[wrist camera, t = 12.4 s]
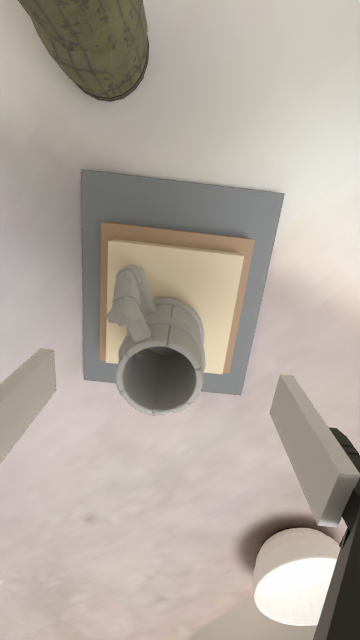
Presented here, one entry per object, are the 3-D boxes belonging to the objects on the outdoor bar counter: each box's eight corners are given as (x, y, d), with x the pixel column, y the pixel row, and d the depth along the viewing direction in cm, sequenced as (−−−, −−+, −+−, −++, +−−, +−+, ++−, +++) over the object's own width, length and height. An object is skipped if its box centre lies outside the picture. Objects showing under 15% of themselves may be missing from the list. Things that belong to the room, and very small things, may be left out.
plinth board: (85, 171, 31) (57, 157, 24) (280, 194, 31) (308, 187, 24) (87, 374, 40) (66, 407, 32) (238, 389, 40) (251, 425, 33)
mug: (148, 371, 31) (128, 458, 19) (99, 272, 27) (39, 309, 16) (213, 348, 30) (231, 427, 18) (171, 242, 26) (163, 259, 15)
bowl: (353, 560, 53) (379, 610, 46) (263, 584, 56) (274, 635, 49) (328, 498, 48) (353, 544, 41) (230, 528, 50) (237, 576, 44)
